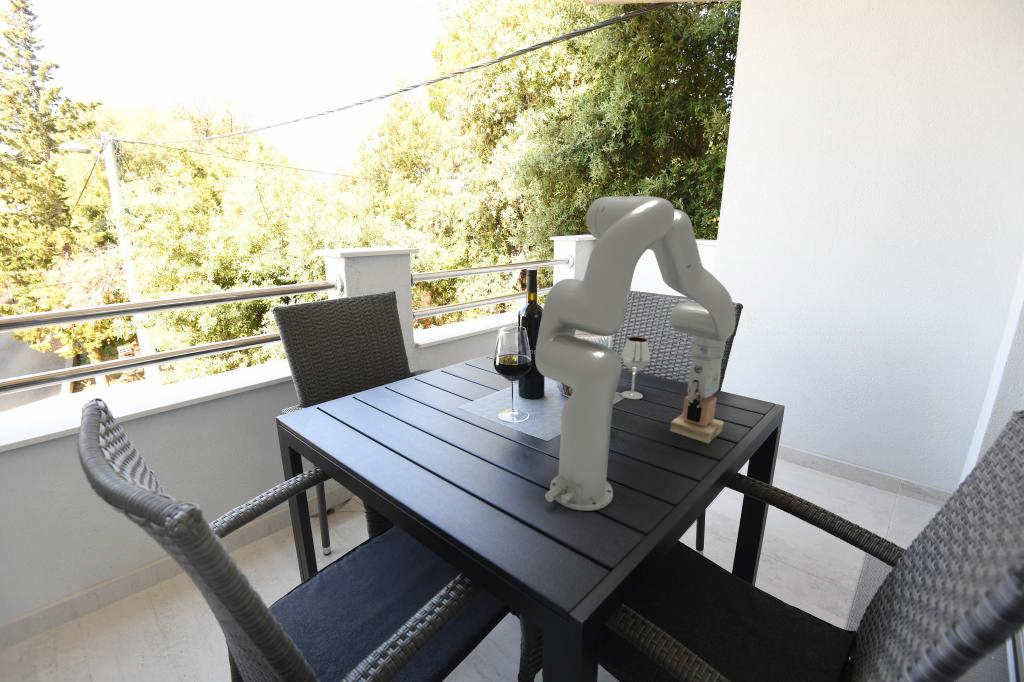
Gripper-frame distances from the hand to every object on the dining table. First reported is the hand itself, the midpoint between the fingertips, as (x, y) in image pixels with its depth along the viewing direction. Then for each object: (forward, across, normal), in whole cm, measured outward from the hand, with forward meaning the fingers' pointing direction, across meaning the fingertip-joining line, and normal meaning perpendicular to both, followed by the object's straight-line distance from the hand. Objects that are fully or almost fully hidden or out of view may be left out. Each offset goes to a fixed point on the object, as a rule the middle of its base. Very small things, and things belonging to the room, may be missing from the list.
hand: (698, 416), depth 125 cm
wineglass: (+4, +10, +24) cm, 26 cm away
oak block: (+5, 0, 0) cm, 5 cm away
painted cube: (+1, 0, 0) cm, 1 cm away
